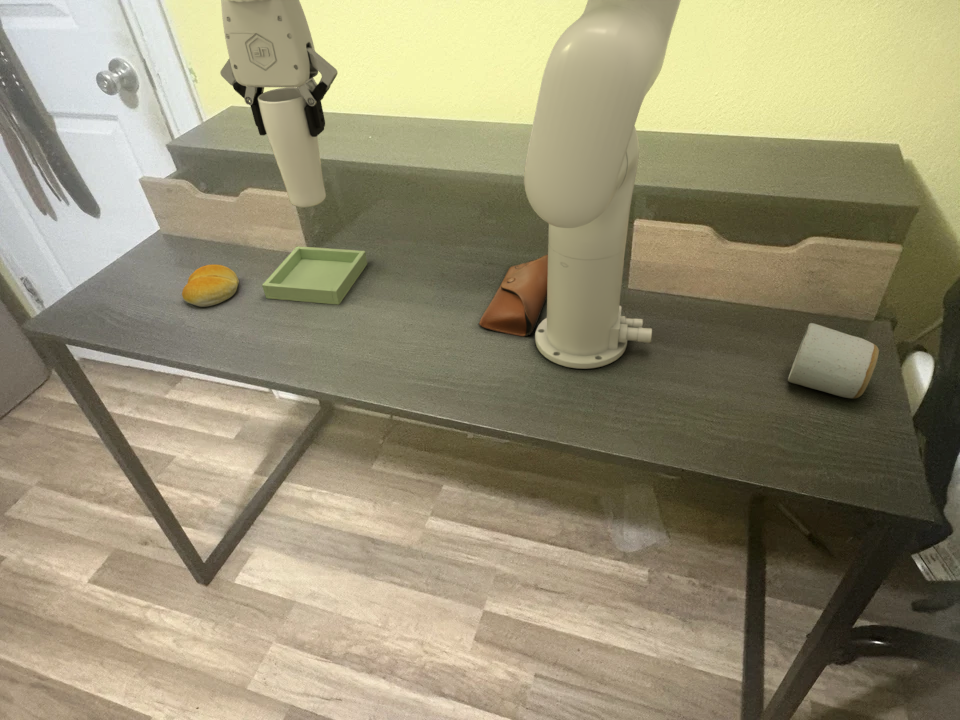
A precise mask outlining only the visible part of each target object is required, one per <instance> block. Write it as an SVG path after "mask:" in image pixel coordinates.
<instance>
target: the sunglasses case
mask: <svg viewBox="0 0 960 720" xmlns="http://www.w3.org/2000/svg"><path fill="white" fill-rule="evenodd" d="M505 273H506V274H505V276H504V278H503V280H502V281H501V283H500V284H499V287H498V289H497V291H496V292H495V293H494V296H493V297H492V299H491V301H490V302H489V304H488V306H487V308H486V309H485V311H484V312H483V314H482V316H481V318H480V320H479V323H478V325H479V326H480V327H481V328H483V329H486V330H490V331H493V332H497V333H500V334H507V335H512V336H517V337H522V338H523V337H527V336H529V335H531V333H533V331H535V330H534V329H535V327H536V325H537V322H538V320H539V318H540V314H541V312H542V310H543V308H544V305H545V302H546V301H547V281H548V253H546V254H544V255H542V256H541V257H538V258H537V259H533V260H529V261H526V262H523V263H520V264H516V265H511V266H510V267H509V268H508V269H507V271H506V272H505Z"/></svg>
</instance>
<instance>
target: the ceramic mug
mask: <svg viewBox="0 0 960 720" xmlns="http://www.w3.org/2000/svg"><path fill="white" fill-rule="evenodd" d="M879 353H880V351H879V348H878V346H877V345H876V344H875V343H873V342H871V341H869V340H866V339H864V338H862V337H859V336H855V335H851V334H847V333H845V332H842V331H839V330H835V329H832V328H830V327H826V326H824V325H821V324H817V323H813V322H810V323H809V324H808V325H807V327H806V330H805V333H804V335H803V337H802V340H801V342H800V345H799V348H798V350H797V353H796V356H795V358H794V361H793V363H792V366H791V369H790V372H789V375H788V378H787V381H788V383H792V384H795V385H799V386H802V387H805V388H809V389H812V390H815V391H816V390H817V391H819V392H824V393H827V394H830V395H833V396H837V397H841V398H846V399H858V398H860V397H862V395H863V394H864V393H865V391H866V389H867V388H868V385H869V383H870V381H871V379H872V376H873V373H874V370H875V368H876V365H877V362H878V358H879Z"/></svg>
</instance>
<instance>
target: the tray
mask: <svg viewBox="0 0 960 720" xmlns="http://www.w3.org/2000/svg"><path fill="white" fill-rule="evenodd" d="M366 253H367V252H366V251H365V250H357V249H343V248H327V247H311V246H300V245H299V246H298V245H296V247H295V248H293V250H292V251H290V253H289V254H288V255H287V256H286V257H285V259H284V260H283V261H282V262H281V263H280V264H279V265H278V266H277V268H276V269H275V270H274V271H273V272H272V273H271V274H270V275H269V277H268V278H267V279H266V280H265V281H264V282H263V283H262V285H261V286H262V290H263V294H264V296H265V299H270V300H282V301H292V302H303V303H314V304H316V303H317V304H328V305H337V306H338V305H340V304H341V303H342V301H343V300H344V298H345V297H346V296H347V294H348V293H349V291H350V290H351V288H352V287H353V286H354V284H355V283H356V281H357V280H358V278H359V277H360V275H361V274H362V273H363V271H364V270H365V268H366V267H367V265H368V264H369V263H368V259H367V258H368V257H367V254H366Z"/></svg>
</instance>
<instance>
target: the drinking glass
mask: <svg viewBox="0 0 960 720" xmlns="http://www.w3.org/2000/svg"><path fill="white" fill-rule="evenodd" d="M258 103H259V108H260V112H261V116H262V120H263V124H264V127H265V131H266V136H267V139H268V142H269V145H270V148H271V151H272V153H273V156H274V159H275V162H276V165H277V167H278V170H279V173H280V176H281V179H282V182H283V185H284V188H285V190H286V194H287V198H288V202H289V203H290V204H291V205H292V206H294V207H297V208H312V207H315V206H317V205H320V204H322V203H323V202H324V201H325V200H326V197H327V192H326V188H325V182H324V176H323V169H322V168H323V167H322V162H321V161H322V160H321V154H320V145H319V135H318V136H317V137H312V136H311V135H310V132H309V128H308V123H307V119H306V114H305V109H304V108H305V106H307V102H306V100H305V99H304V97H303V96H302V94H301V93H300V91H299V90H298V88H297V87H278V88H274V89H270V90H267V91H264V92H263V93H262V94H261V95H259V97H258Z"/></svg>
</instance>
